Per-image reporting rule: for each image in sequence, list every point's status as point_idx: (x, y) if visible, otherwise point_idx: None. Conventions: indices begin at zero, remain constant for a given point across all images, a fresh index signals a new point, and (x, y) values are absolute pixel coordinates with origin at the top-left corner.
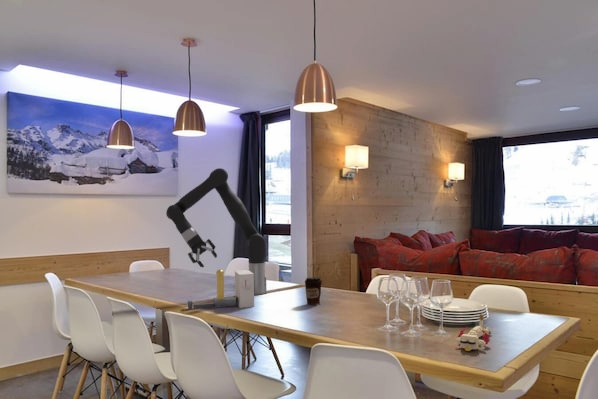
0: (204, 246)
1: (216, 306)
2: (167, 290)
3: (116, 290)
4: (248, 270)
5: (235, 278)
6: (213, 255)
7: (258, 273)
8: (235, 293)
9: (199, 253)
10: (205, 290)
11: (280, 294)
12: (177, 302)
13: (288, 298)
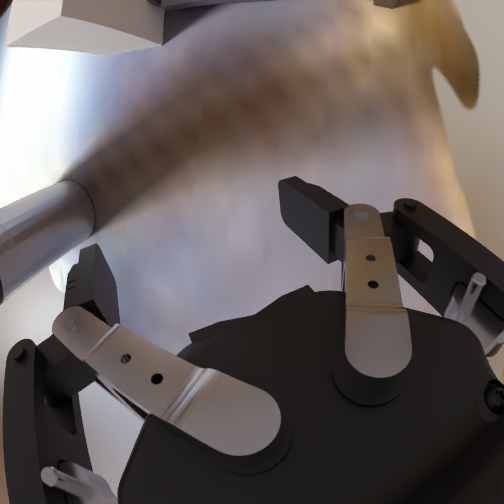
0: (173, 412)
1: None
2: None
3: None
4: (7, 35)
5: (93, 6)
6: (115, 302)
7: (4, 207)
8: (141, 33)
9: (347, 275)
10: None
11: (20, 161)
12: (425, 168)
13: (13, 87)
